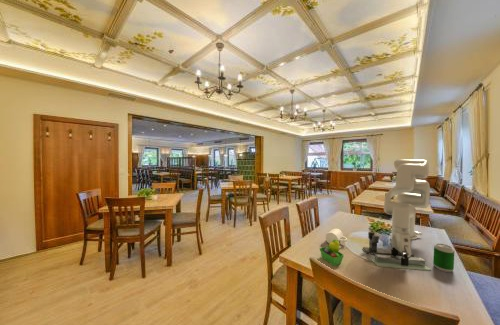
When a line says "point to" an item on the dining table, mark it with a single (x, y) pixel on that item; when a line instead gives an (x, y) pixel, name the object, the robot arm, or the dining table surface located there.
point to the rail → (399, 260)
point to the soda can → (443, 257)
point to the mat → (400, 265)
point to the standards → (379, 251)
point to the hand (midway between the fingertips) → (399, 260)
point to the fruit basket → (332, 253)
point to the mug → (335, 236)
